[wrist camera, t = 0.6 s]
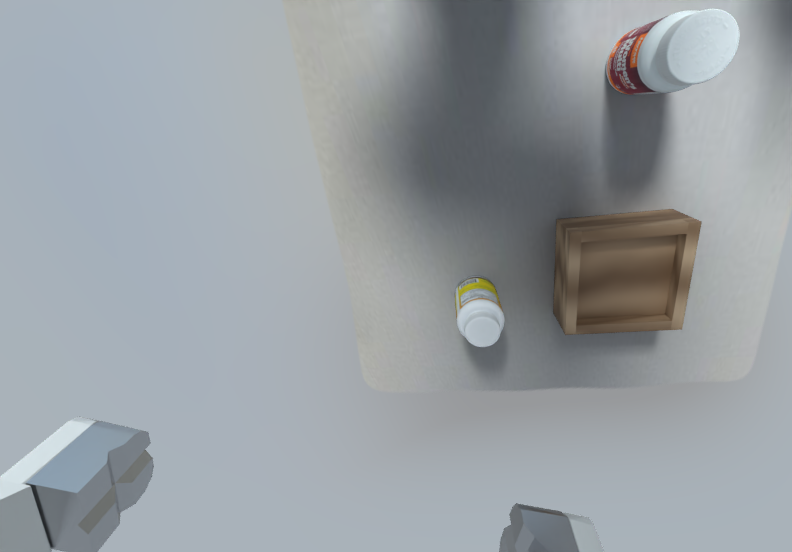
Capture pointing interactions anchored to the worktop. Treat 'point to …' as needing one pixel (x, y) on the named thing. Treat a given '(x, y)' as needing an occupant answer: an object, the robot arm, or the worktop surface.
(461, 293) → the supplement bottle
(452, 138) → the worktop surface
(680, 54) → the pill bottle
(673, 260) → the brown wooden box
